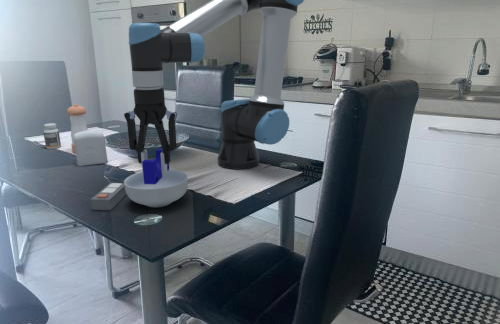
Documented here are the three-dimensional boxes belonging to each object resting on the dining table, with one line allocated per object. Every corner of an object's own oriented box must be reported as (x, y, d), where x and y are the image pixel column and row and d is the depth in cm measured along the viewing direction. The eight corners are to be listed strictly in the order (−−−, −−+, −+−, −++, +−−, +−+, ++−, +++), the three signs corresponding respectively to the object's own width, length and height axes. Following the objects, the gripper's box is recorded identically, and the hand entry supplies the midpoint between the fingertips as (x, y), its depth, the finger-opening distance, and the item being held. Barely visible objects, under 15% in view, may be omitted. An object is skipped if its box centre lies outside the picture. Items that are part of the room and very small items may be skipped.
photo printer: (76, 167, 135) (72, 133, 131) (77, 163, 139) (73, 130, 135) (107, 164, 138) (103, 130, 134) (107, 160, 142) (103, 128, 138)
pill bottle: (51, 145, 163) (48, 122, 160) (64, 145, 162) (60, 123, 159) (43, 149, 158) (39, 125, 155) (55, 149, 157) (51, 125, 154)
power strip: (131, 189, 114) (130, 178, 113) (110, 210, 100) (109, 198, 99) (115, 189, 114) (113, 178, 113) (92, 209, 100) (90, 197, 99)
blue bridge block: (154, 168, 109) (152, 148, 107) (169, 169, 108) (168, 149, 107) (138, 183, 97) (136, 161, 96) (155, 184, 97) (153, 162, 95)
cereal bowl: (192, 190, 113) (191, 167, 111) (184, 214, 97) (183, 188, 95) (135, 190, 113) (133, 168, 111) (118, 214, 97) (115, 189, 95)
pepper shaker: (74, 154, 150) (67, 106, 144) (71, 150, 155) (64, 103, 150) (93, 151, 153) (87, 104, 148) (89, 147, 159) (83, 102, 153)
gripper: (186, 86, 99) (190, 171, 106) (120, 85, 100) (128, 169, 107) (179, 89, 92) (184, 180, 99) (108, 89, 93) (118, 178, 100)
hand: (155, 174), depth 103 cm, fingers closed on blue bridge block, 5 cm apart
